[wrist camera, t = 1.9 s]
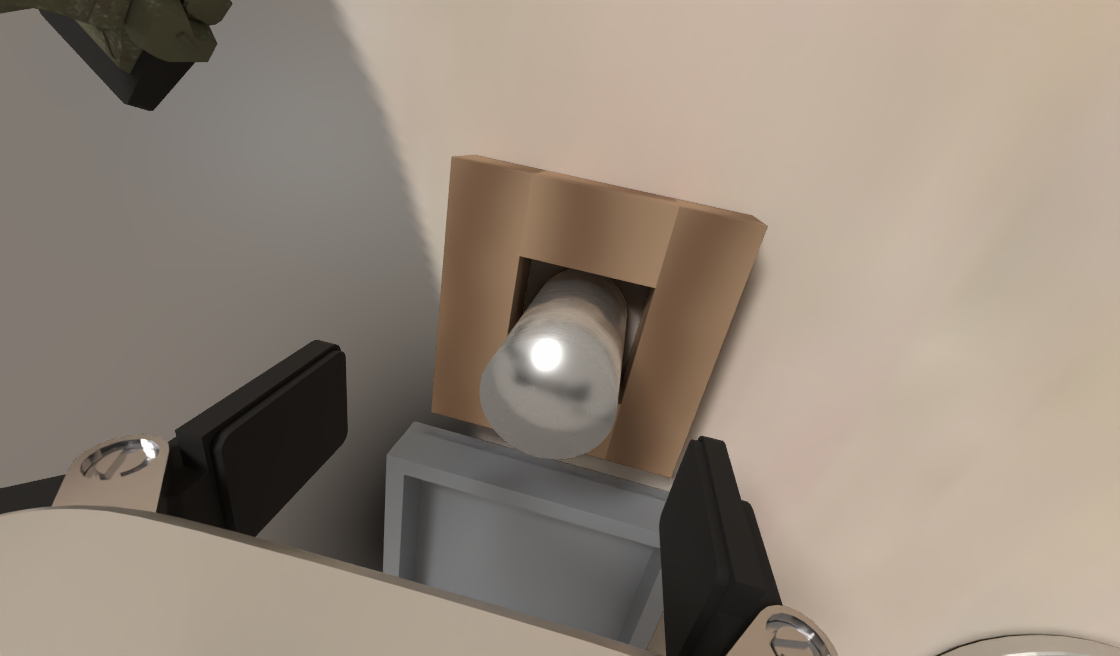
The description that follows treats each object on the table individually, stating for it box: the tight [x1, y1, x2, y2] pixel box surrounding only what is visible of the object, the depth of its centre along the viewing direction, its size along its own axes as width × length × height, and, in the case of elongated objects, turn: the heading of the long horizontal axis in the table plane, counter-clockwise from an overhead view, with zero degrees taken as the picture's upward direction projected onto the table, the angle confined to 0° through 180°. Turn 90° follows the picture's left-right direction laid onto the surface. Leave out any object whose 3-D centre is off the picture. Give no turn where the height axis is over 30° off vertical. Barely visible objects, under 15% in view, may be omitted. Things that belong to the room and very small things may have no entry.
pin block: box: [431, 155, 768, 478], centre depth 20 cm, size 12×12×2 cm
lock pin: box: [479, 269, 627, 459], centre depth 17 cm, size 4×4×8 cm
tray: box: [383, 421, 670, 650], centre depth 27 cm, size 16×16×3 cm
